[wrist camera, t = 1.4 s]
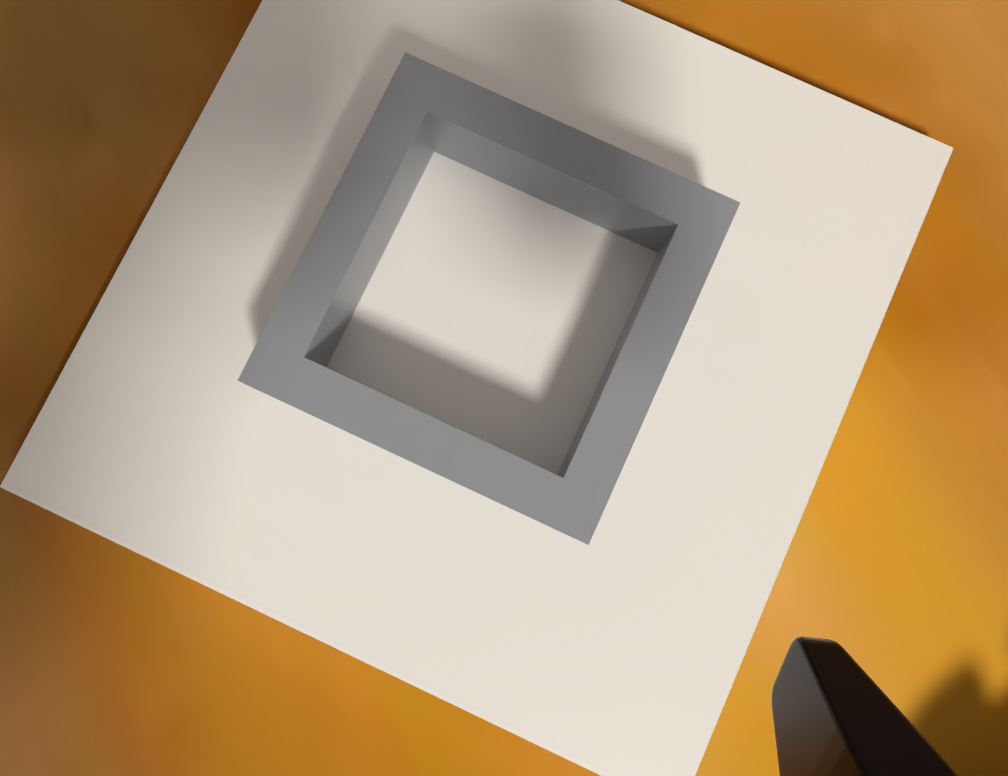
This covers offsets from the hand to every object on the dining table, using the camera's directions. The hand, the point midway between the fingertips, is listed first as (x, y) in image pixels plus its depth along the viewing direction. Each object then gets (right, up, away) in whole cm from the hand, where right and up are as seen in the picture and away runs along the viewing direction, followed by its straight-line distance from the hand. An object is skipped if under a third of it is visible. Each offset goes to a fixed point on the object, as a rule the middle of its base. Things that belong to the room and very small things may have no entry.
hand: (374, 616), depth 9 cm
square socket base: (+1, +4, +15) cm, 16 cm away
